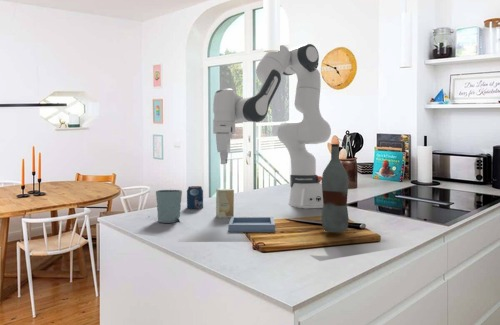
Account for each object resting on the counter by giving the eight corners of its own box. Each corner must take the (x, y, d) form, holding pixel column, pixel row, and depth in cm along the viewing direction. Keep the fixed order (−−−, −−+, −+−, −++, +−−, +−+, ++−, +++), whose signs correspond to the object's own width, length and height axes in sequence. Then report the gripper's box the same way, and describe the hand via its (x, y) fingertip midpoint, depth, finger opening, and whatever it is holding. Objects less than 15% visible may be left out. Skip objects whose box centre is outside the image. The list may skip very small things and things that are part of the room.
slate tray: (273, 223, 164) (273, 216, 164) (275, 231, 148) (275, 224, 148) (231, 223, 164) (231, 217, 164) (228, 231, 148) (228, 224, 148)
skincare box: (219, 221, 170) (219, 190, 170) (215, 219, 174) (215, 189, 174) (234, 219, 173) (234, 189, 172) (230, 218, 177) (230, 188, 176)
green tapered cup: (151, 222, 169) (150, 191, 168) (165, 218, 178) (164, 189, 178) (173, 223, 165) (173, 192, 165) (186, 219, 175) (186, 189, 174)
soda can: (198, 215, 183) (198, 187, 183) (184, 215, 186) (183, 187, 185) (205, 213, 190) (205, 186, 189) (191, 212, 192) (191, 185, 192)
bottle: (331, 233, 145) (331, 143, 143) (316, 228, 153) (316, 144, 152) (354, 231, 149) (354, 143, 147) (337, 226, 157) (338, 144, 156)
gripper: (218, 130, 183) (218, 163, 183) (213, 127, 163) (213, 164, 163) (233, 130, 183) (233, 163, 183) (230, 127, 163) (230, 164, 163)
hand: (224, 163), depth 173 cm, fingers open, 8 cm apart
